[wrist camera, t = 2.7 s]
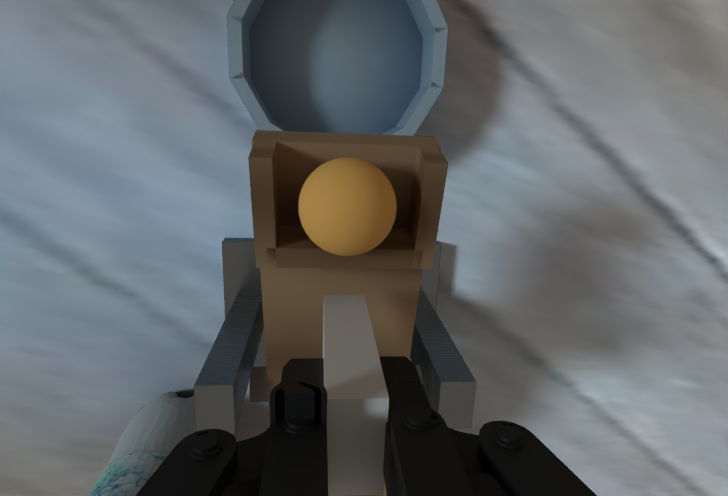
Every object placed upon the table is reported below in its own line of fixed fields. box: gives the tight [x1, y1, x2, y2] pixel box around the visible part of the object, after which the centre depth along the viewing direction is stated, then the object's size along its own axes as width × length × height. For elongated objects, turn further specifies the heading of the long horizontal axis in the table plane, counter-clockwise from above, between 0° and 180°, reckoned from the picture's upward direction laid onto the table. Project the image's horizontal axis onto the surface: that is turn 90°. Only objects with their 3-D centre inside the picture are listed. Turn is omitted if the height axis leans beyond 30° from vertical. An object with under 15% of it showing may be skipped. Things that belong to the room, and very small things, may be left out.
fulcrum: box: [194, 238, 476, 434], centre depth 26 cm, size 9×14×12 cm, turn 88°
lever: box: [249, 130, 448, 496], centre depth 24 cm, size 22×8×8 cm, turn 177°
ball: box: [298, 157, 397, 256], centre depth 15 cm, size 3×3×3 cm
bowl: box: [227, 0, 448, 136], centre depth 26 cm, size 11×11×4 cm
